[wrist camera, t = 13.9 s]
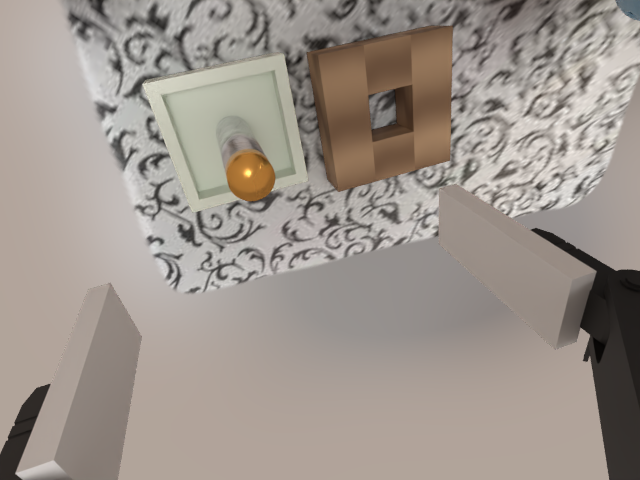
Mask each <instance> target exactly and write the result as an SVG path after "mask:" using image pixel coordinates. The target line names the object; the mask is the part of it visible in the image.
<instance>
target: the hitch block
mask: <svg viewBox="0 0 640 480" xmlns="http://www.w3.org/2000/svg"><path fill="white" fill-rule="evenodd" d="M452 37H453V26H427V27H422V28H418V29H413V30H408V31H404V32H399V33H395V34H390V35H385V36H381V37H376V38H371V39H367V40H362V41H357V42H353V43H348V44H343V45H339V46H334V47H329V48H325V49H320V50H315V51H311V52H307V58H308V64H309V70H310V76H311V82H312V88H313V94H314V100H315V107H316V113H317V119H318V125H319V131H320V137H321V143H322V149H323V155H324V161H325V168H326V174H327V180H328V181H329V182H330V183H331V184H332V185H333V186H334V187H335V188H336V190H337V191H338V192H340V191H343V190H347V189H350V188H354V187H357V186H361V185H365V184H368V183H372V182H375V181H379V180H382V179H386V178H389V177H393V176H396V175H400V174H404V173H407V172H411V171H414V170H418V169H421V168H425V167H428V166H432V165H436V164H439V163H443V162H446V161H450V137H451V87H452ZM391 89H395V99H396V117H397V124H393V125H389V126H385V127H381V128H377V129H373V130H371V121H370V110H369V99H368V95H371V94H375V93H379V92H383V91H387V90H391Z"/></svg>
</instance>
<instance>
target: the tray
mask: <svg viewBox="0 0 640 480" xmlns="http://www.w3.org/2000/svg"><path fill="white" fill-rule="evenodd" d="M142 85H143V87H144V90H145V92H146V95H147V97H148V100H149V103H150V105H151V108H152V110H153V113H154V116H155V118H156V121H157V123H158V126H159V128H160V131H161V134H162V136H163V139H164V141H165V144H166V147H167V149H168V152H169V154H170V157H171V159H172V162H173V165H174V167H175V170H176V172H177V175H178V178H179V180H180V183H181V185H182V188H183V191H184V193H185V196H186V198H187V201H188V203H189V206H190V209H191V211H192V213H193V212H197V211H200V210H204V209H208V208H211V207H215V206H219V205H222V204H226V203H230V202H233V201H237V200H241V199H240V198H238V197H237V196H235V195H234V194H233V193H232V192H231V190H230V188H229V186H228V182H227V178H226V174H225V170H224V166H223V161H222V157H221V153H220V149H219V145H218V141H217V136H216V128H217V125H218V123H219V122H220V121H221V120H222V119H223V118H225V117H228V116H237V117H240V118H242V119H243V120H244V121H246V123H247V124H248V126H249V127H250V129H251V131H252V133H253V134H254V136H255V138H256V139H257V141H258V143H259V145H260V146H261V148H262V150H263V152H264V153H265V155H266V157H267V158H268V160H269V162H270V164H271V165H272V167H273V169H274V172H275V184H274V187H273V189H272V190H271V191H274V190H277V189H281V188H285V187H288V186H292V185H296V184H299V183H303V182H307V181H308V176H307V171H306V166H305V161H304V155H303V150H302V145H301V140H300V135H299V129H298V124H297V119H296V114H295V109H294V103H293V98H292V93H291V88H290V83H289V78H288V72H287V67H286V62H285V57H284V54H283V53H279V52H275V53H270V54H266V55H261V56H256V57H251V58H247V59H242V60H237V61H233V62H228V63H223V64H218V65H214V66H209V67H204V68H200V69H195V70H190V71H185V72H181V73H176V74H171V75H167V76H162V77H157V78H152V79H148V80H145V81H144V83H143V84H142Z"/></svg>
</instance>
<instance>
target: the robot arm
mask: <svg viewBox="0 0 640 480" xmlns="http://www.w3.org/2000/svg"><path fill="white" fill-rule="evenodd" d="M615 1H616V3H617V5H618V7H619V8H620V9H621V11H622V12H623V13H624V14H625V15H627V16H629V17H630V18H632V19H635V20H639V21H640V0H615ZM439 245H441V246H442V247H443V248H444V249H445V250H446V251H447V252H448V253H449V254H450V255H451V256H453V257H454V258H455V259H456V260H457V261H458V262H459V263H460V264H461V265H463V266H464V267H465V268H466V269H467V270H468V271H469V272H470V273H471V274H472V275H473V276H475V277H476V278H477V279H478V280H479V281H480V282H481V283H482V284H483V285H485V286H486V287H487V288H488V289H489V290H490V291H491V292H492V293H493V294H494V295H495V296H497V297H498V298H499V299H500V300H501V301H502V302H503V303H504V304H505V305H506V306H508V307H509V308H510V309H511V310H512V311H513V312H514V313H515V314H516V315H517V316H518V317H520V318H521V319H522V320H523V321H524V322H525V323H526V324H527V325H528V326H529V327H531V328H532V329H533V330H534V331H535V332H536V333H537V334H538V335H539V336H541V337H542V338H543V339H544V340H545V341H546V342H547V343H548V344H549V345H550V346H551V347H553V348H554V349H555V350H556V349H559V348H561V347H564V346H567V345H569V344H572V343H574V342H576V341H577V338H578V334H579V331H580V327H581V328H582V329H583V330H585V331H586V332H587V333H589V334H590V338H589V341H588V345H587V348H586V351H585V354H584V359H583V361H586V362H587V361H588V358H589V356H590V357H591V364H592V370H593V377H594V383H595V389H596V396H597V402H598V409H599V416H600V422H601V429H602V435H603V442H604V448H605V454H606V461H607V468H608V474H609V480H640V271H637V270H618V271H615V270H614V269H612V268H610V267H609V266H607V265H605V264H603V263H602V262H600V261H598V260H597V259H595V258H593V257H592V256H590V255H588V254H586V253H585V252H583V251H581V250H580V249H576V247H575V246H573V245H571V244H570V243H566V242H565V240H563V239H561V238H559V237H558V236H556V235H554V234H553V233H550V232H547V231H544V230H540V229H537V228H535V229H532V230H529V229H528V228H526V227H524V226H523V225H521V224H520V223H518V222H516V221H515V220H513V219H512V218H510V217H508V216H507V215H505V214H504V213H502V212H500V211H499V210H497V209H495V208H494V207H492V206H491V205H489V204H487V203H486V202H484V201H483V200H481V199H479V198H478V197H476V196H475V195H473V194H471V193H470V192H468V191H466V190H465V189H463V188H462V187H460V186H458V185H457V184H454V185H450V186H447V187H443V188H440V189H439ZM141 338H142V336H141V335H140V333H139V331H138V329H137V327H136V326H135V324H134V322H133V321H132V319H131V317H130V315H129V314H128V312H127V310H126V309H125V307H124V305H123V304H122V302H121V300H120V298H119V297H118V295H117V293H116V292H115V290H114V288H113V286H112V285H111V283H108V284H105V285H101V286H98V287H94V288H91V289H88V291H87V294H86V296H85V299H84V301H83V304H82V307H81V309H80V312H79V314H78V317H77V319H76V322H75V324H74V327H73V330H72V332H71V334H70V337H69V339H68V342H67V345H66V347H65V349H64V352H63V354H62V357H61V359H60V362H59V364H58V367H57V370H56V372H55V375H54V377H53V380H52V382H51V384H48V385H45V386H42V387H38V388H36V389H35V390H34V392H33V393H32V394H31V395H30V397H29V398H28V399H27V400H26V402H25V403H24V404H23V405H22V407H21V409H20V412H19V414H18V416H17V418H16V420H15V426H13V427H12V429H11V431H10V434H9V436H8V441H6V443H5V445H4V447H3V449H2V451H1V454H0V480H118V475H119V469H120V463H121V458H122V452H123V445H124V439H125V434H126V427H127V422H128V415H129V410H130V404H131V398H132V392H133V386H134V380H135V373H136V368H137V361H138V355H139V350H140V344H141Z"/></svg>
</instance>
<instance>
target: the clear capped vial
mask: <svg viewBox="0 0 640 480" xmlns="http://www.w3.org/2000/svg"><path fill="white" fill-rule="evenodd" d="M216 136H217V141H218V145H219V149H220V153H221V157H222V161H223V166H224V170H225V174H226V178H227V182H228V186H229V188H230V190H231V192H232V193H233V194H234V195H235V196H237V197H238V198H240V199H242V200H245V201H256V200H260V199H262V198H264V197H265V196H267V195H268V194H269V193H270V192H271V190H272V189H273V187H274V184H275V172H274V169H273V167H272V165H271V164H270V162H269V160H268V158H267V157H266V155H265V153H264V152H263V150H262V148H261V146H260V145H259V143H258V141H257V139H256V138H255V136H254V134H253V133H252V131H251V129H250V127H249V126H248V124H247V123H246V121H244V120H243V119H242V118H240V117H237V116H228V117H225V118H223V119H222V120H221V121H220V122H219V123H218V125H217V128H216Z"/></svg>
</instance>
